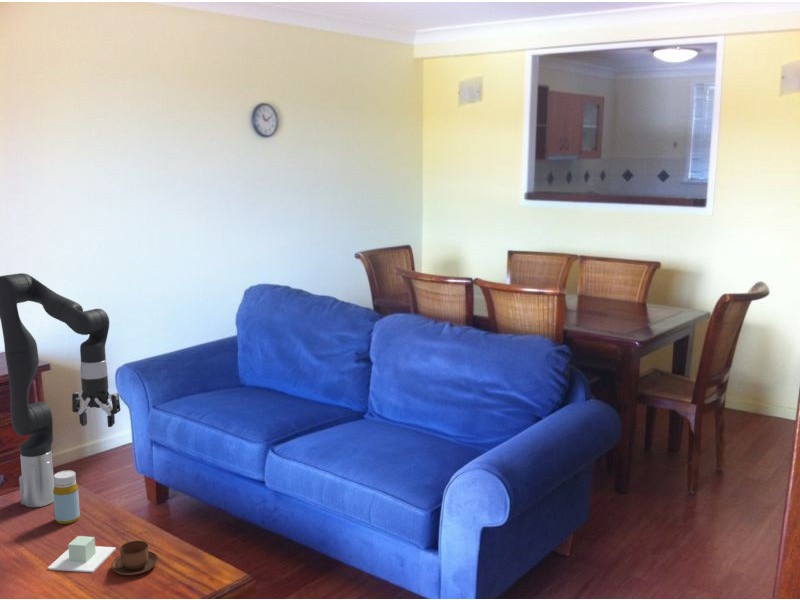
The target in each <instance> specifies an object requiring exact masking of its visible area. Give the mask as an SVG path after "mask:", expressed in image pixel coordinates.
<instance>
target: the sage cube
mask: <svg viewBox="0 0 800 600" xmlns="http://www.w3.org/2000/svg"><path fill="white" fill-rule="evenodd" d="M67 546H68V549H69V561H74V562H87V561H88V560H89V559H91V558H92V557H93V556H94V555H95V554H96V549H95V546H96V538H95V536H86V535H77V536H76V537H75V538H74V539H73V540H72V541H70V543H68V545H67Z"/></svg>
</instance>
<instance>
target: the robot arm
mask: <svg viewBox="0 0 800 600" xmlns="http://www.w3.org/2000/svg"><path fill="white" fill-rule="evenodd" d="M25 302H33V303H36V304H40V305H41V306H42V308H43V309H44V311H45V312H46V314H47V315H49V317H51V318H54V319H55V320H58V321H60V322H62V323H64V324H66V326H67V327H68V328H70V329H71V330H72V331H73V332H74V333H76V334H79V335H82V336H87V335H89V336H88V338H87V339H85V341H83V342H82V343H81V344H80V346H79V347H80V348H79V352H80V379H81V380H80V383H81V392H80V391H78V390H77V391H75V392H73V393H72V394H71V395H72V396H71V399H72V401H71V403H72V404H71V405H72V406H71V411H72V412H73V413H77V414H78V415H79V416H78V417H79V424H80V425H81V426H82V427H85V426H87V424H88V416H87V410H88V408H97V409H100V408H101V410H102V411H104V412H105V413H106V414H107V416H106V417H107V419H106V420H107V421H106V422H107V427H108V428H112V427H113V426H114V425H115V423H116V422H115V421H116V419H115V415H117V414H118V413H119V412H121V404H120V403H121V402H120V395H119V393H118V392H115V393H110V392H109V376H108V375H109V373H108V363H107V358H106V344H107V343H106V342H107V339H108V334H109V329H110V318H109V315H108V313H107V312H106V311H105V310H104V309H102V308H93V309H87V310H84V308H83V306H82V305H81V304H80V303H79V302H76V301H74V300H72V299H70V298H68V297H65V296H63V295H60V294H59V293H57V292H55V291H53V290H52V289H51V288H49V287H48V286H46V285H45V284H43V283H41V281H39V280H38V279H36V278H35V277H33V276H32V275H29V274H28V273H23V272H22V273H21V272H20V273H12V274H6V275H1V276H0V326H1V330H2V335H3V336H2V337H3V344H4V355H5V361H6V363H5V364H6V368H7V374H8V383H9V393H10V397H9V399H10V404H9V405H10V407H9V408H10V420H11V421H10V422H11V426H12V428H13V430H14V433H15V434H17V435H18V436H19V437H24V436H28V437H27V438H26V439H25V440H24V441H23V442H22V443H21V444H20V445H19V456H20V466H21V467H20V468H21V469H20V470H21V475H20V476H19V478H18V482H19V492H20V503H21V505H24V506H25V507H27V508H41V507H44V506H47V505H50V504H52V503H54V495H53V490H54V486H55V485H54V466H53V465H54V463H53V454H52V451H53V450H52V445H53V442H54V431H53V430H54V426H53V425H54V423H53V421H54V419H53V413H52V410H51V408H50V405H48V404H47V403H46V402H45V401H36V402H33V403H29V393H30V388H31V386H32V383H33V381H34V378H35V376H36V374H37V372H38V368H39V364H40V358H39V350H38V344H37V342H36V338H35V337H34V336H33V335H32V334H31V333H30V331H29V330H28V329H27V327H26V326H25V325H24V324H23V321H22V320H21V317H20V314H19V309H18V304H21V303H25ZM81 399H82V400H83V401H84V402H83V403H82V405H81ZM109 400H110V401H109Z"/></svg>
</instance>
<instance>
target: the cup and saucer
mask: <svg viewBox="0 0 800 600" xmlns="http://www.w3.org/2000/svg"><path fill="white" fill-rule="evenodd" d="M157 563H158V555H157V554H156V553H154V552H152V551H149V544H148V543H147V542H146V541H143V540H132V541H129V542H126V543H123V544H122V545H121V546H120V547H119V556H117V557H116V558H115V559H113V561H112V562H111V570H113V572H115V573H117V574H119V575H122V576H137V575H140V574H141V575H142V574H144V573H146V572H148V571H149V570H151V569H153V568H154V567H155V566H156V564H157Z"/></svg>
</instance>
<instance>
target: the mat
mask: <svg viewBox="0 0 800 600" xmlns="http://www.w3.org/2000/svg"><path fill="white" fill-rule="evenodd" d="M95 549H96V554H95V555H94V556H93V557H92V558H91V559H89V560H88V561H87V562H74V561H69V548H68V549H67V550H65V551H64V552H63V553H62V554H61V555H60V556H59V557H58V558H57V559H55V561H53V562H52V563H51V564H50V565H49V566H48V567H47V570H52V571H65V572H67V571H68V572H77V573H78V572H79V573H81V572H82V573H91V574H92V573H94V572H95V571H96V570H97V569H98V568H99V567H100V566H101V565H102V564H103V563H104V562H105V561H106V560H107V559H108V558H109V557H110V555H112V554H113V553H114V552H115V550H116V549H117V547H116V546H115V547H114V546H102V545H101V546H100V545H99V546H98V545H95Z"/></svg>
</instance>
